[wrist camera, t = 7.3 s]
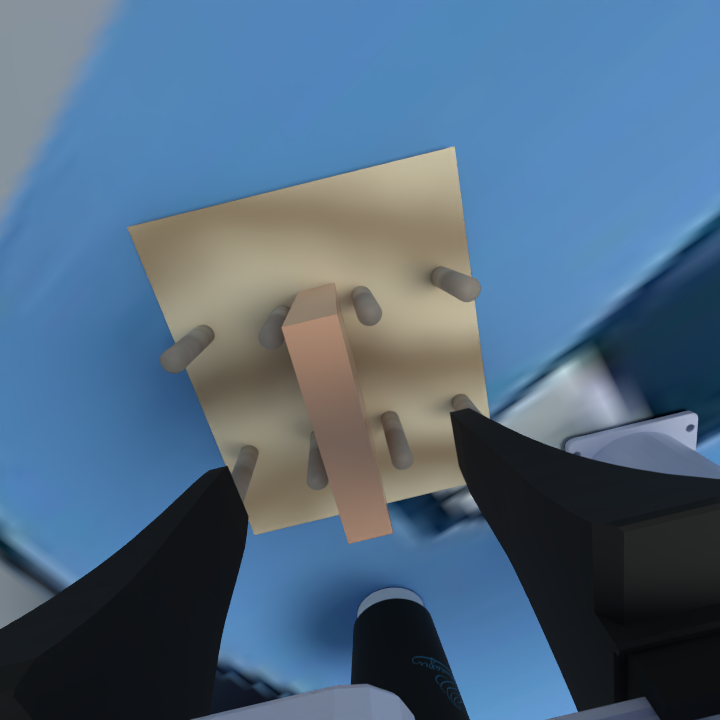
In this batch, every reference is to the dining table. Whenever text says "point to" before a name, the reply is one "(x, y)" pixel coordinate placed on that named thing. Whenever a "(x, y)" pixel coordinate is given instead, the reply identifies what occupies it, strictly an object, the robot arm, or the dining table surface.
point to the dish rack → (361, 316)
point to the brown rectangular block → (337, 410)
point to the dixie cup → (404, 655)
